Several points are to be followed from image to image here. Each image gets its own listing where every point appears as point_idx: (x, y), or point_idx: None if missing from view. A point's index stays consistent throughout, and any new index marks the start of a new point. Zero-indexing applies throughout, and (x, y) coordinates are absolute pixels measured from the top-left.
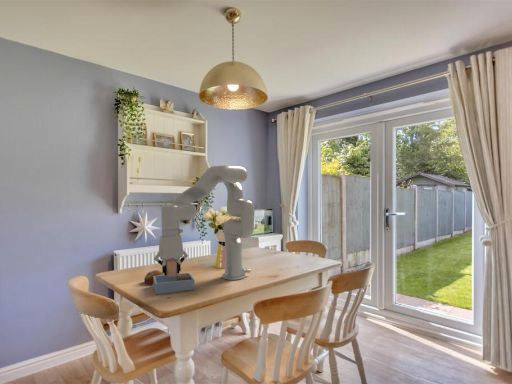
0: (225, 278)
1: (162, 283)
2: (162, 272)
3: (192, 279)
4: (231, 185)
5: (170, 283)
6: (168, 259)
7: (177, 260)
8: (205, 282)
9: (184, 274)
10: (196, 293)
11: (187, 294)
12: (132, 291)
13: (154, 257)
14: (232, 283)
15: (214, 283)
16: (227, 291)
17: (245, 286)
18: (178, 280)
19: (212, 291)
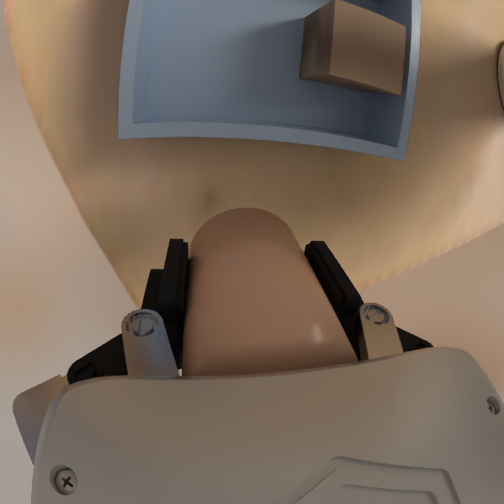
0: (501, 91)
1: (174, 135)
2: (152, 271)
3: (397, 148)
4: None
5: (239, 137)
6: (237, 372)
7: (361, 348)
8: (443, 61)
9: (386, 25)
10: (356, 198)
11: (314, 193)
12: (33, 37)
13: (20, 424)
14: (494, 151)
15: (463, 103)
16: (446, 229)
17: (495, 206)
18: (318, 69)
19: (416, 204)
